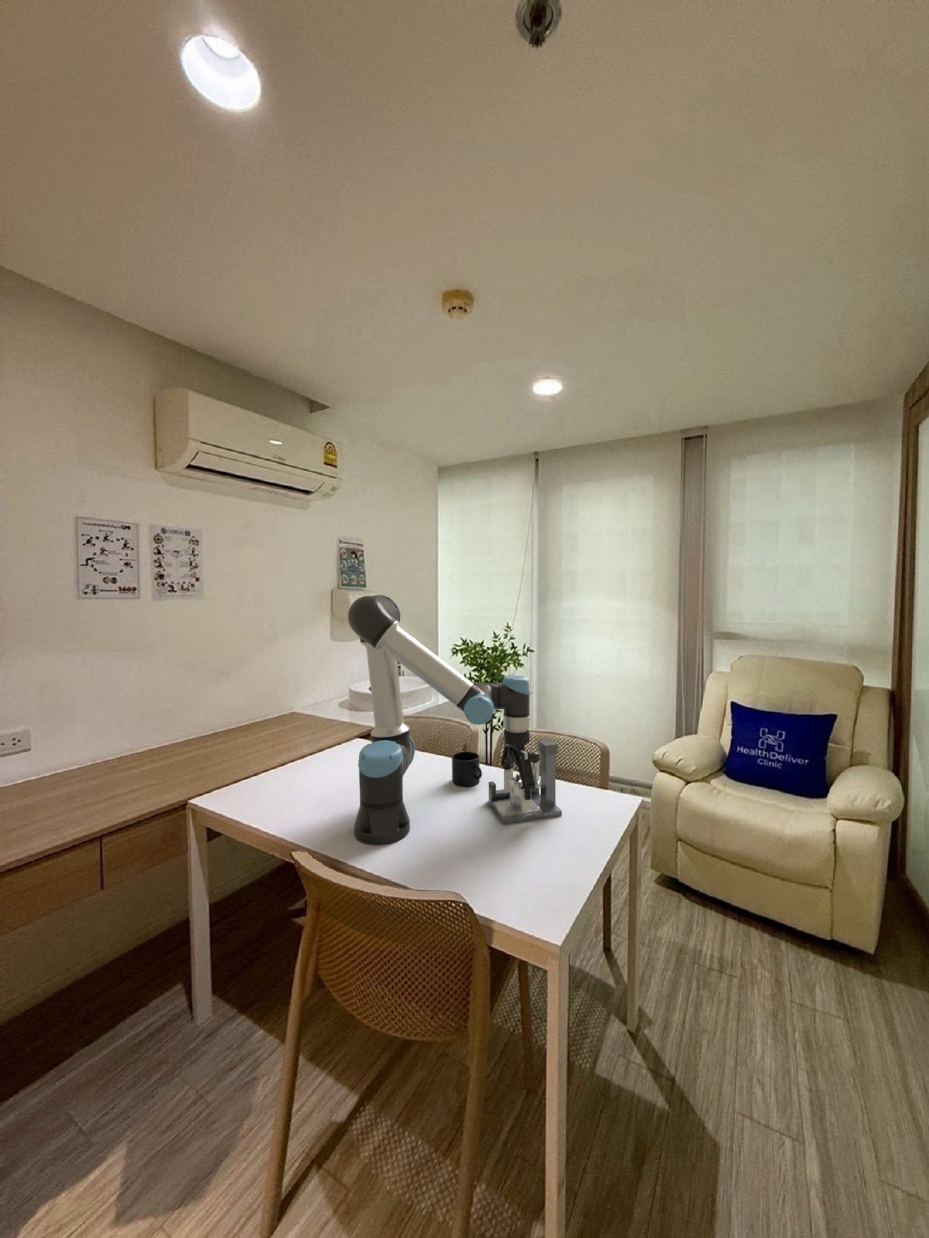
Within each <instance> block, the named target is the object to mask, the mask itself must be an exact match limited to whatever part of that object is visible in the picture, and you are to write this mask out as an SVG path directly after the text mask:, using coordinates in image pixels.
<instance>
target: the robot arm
mask: <svg viewBox="0 0 929 1238" xmlns="http://www.w3.org/2000/svg"><path fill="white" fill-rule="evenodd" d="M401 616H402V615H401V610H400V607H399V605H398V604H397V602H396V601H395V600H394V599H392V598H390V597H389V596H386V595H382V594H374V595H363V596H360V597H358V598H357V599H356V600H354V601H353V602H352V604H351V605H350V607H349V608H348V612H347V621H348V625H349V627H350V628H351V630H352V631H353V633H354V634H355V635H357V636H358V637H359V642H360V644H361V645H363V646H364V647H365V649H366V656H367V665H368V674H369V684H370V693H371V701H372V710H373V711H372V712H373V720H374V721H373V722H374V727H373V729H372V730H371V731H370V739H371V743H368V744H366V745H364V746H363V747H362V748H361V749H360V751H359V755H358V765H357V766H358V779H359V785H358V786H359V807H358V812H357V814H356V818H355V821H354V823H353V824H354V825H353V832H354V834H353V835H354V837H355V838H356V840H357V841H359V842H361V843H364V844H366V845H367V844H368V845H387V844H391V843H395V842H397V841H400V840H401V839H403V838H405V837H406V836H407V835H408V834H409V833H410V831H411V823H410V822H411V821H410V817H409V814H408V811H407V808H406V806H405V803H404V795H403V794H404V791H403V790H404V787H403V786H404V785H403V783H404V781H403V778H404V775H405V773H406V772H407V771H408V768H409V767H410V765H411V764H412V762H413V760H414V758H415V752H416V745H415V741H414V740H413V738H412V736H411V731H410V726H409V725H408V724H406V723H405V722H404V712H403V703H402V695H401V686H400V677H399V666H398V665H399V664H398V663H400V664H401V665H402V666H403V667H405V668H406V669H407V670H409V671H410V672H411V673H412V674H414V675H416V676H417V677H418V678H419V679H420V680H422V681H423V682H424V683H425V684H427V685H428V686H429V687H431V688H432V689H433V690H435V692H437V693H439V695H441V696H442V697H444V698H445V699H446V700H448V702H450V703H452V704H453V705H454V706H455V707H457V708H458V709H459V710H460V711H462V712H463V713H464V716H465V718H466V719H467V720H468V722H470V723H471V724H473V725H477V726H479V725H484V724H486V723H488V722H489V721H490V720H491V718H492V717H493V713H495V710H503V717H502V718H503V729H504V730H503V741H504V742H503V743H504V746H503V751H502V756H501V760H500V765H501V766H502V769H503V789H504V791H510V778H512V777H514V763H515V766H517V769H518V774H519V775H520V778H521V782H522V787H521V810H522V811H525V810H531V789H532V788H535V783H534V777H533V772H532V766H531V761H530V753H531V752H530V751H526V748H525V746H527V745H528V744H529V743H530V741H531V740H530V739H531V738H530V737H531V736H530V735H531V734H530V733H531V732H530V720H531V716H530V681H529V679H528V677H527V676H525V675H524V676H523V675H516V674H515V675H507V676H506V675H505V677H503V679H502V680H503V681H502V682H499V683H493V682H492V683H490V682H489V683H487V682H481V683H480V682H472V681H471V680H469V679H468V678H467V677H465V676H464V675H463V674H461V673H460V672H458V670H456V669H455V668H454V667H452V666H451V665H450V664H449V663H447V662H446V661H445V660H443V659H442V658H441V657H439V656H438V655H436V654H435V653H434V652H433V651H431V650H430V649H429V648H427V647H426V646H425V645H423V644H422V643H421V642H420V641H418V640H417V639H416V638H415V637H414V636H413V635H411V634H410V633H408V632H407V631H405V630H404V629H403V628H402V627H401V626H400V621H401Z"/></svg>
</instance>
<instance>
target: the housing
mask: <svg viewBox="0 0 929 1238" xmlns="http://www.w3.org/2000/svg"><path fill="white" fill-rule="evenodd" d="M521 787H522V782H521V778H520V774H519V773H518V774H515V776H513V777H512V778H510V808H511V809H513V810H521Z"/></svg>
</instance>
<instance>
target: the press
mask: <svg viewBox="0 0 929 1238" xmlns="http://www.w3.org/2000/svg"><path fill="white" fill-rule="evenodd" d="M558 748H559V744H558V743H557V742H555V741H553V740H552V739H550V738H548V739H541V740H538V741H537V750H538V752H540V754H539V755H540V761H539V781H540V783H541V787H540V788H532V789H531V810H525V811H522V810H513V809H511V808H510V791H504V788H503V789H497V785H496V782H495V781H494V780H493V781H488V802H489V808H490V809H491V810H492V812H494V814H495V815H496V816H497V818H498V819H499V821H501V823H502V825H504V826H505V825H511V824H517V823H522V822H523V823H524V822H529V821H535V820H541V819H542V820H543V819H548V818H554V817H555V818H556V817H560V816H562V815H563V810H562V809H561V808H560V807H558V805H556V800H557V799H556V798H557V797H556V794H557V793H556V755H558V754H559V753H558V752H559V749H558Z"/></svg>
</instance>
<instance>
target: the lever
mask: <svg viewBox="0 0 929 1238" xmlns="http://www.w3.org/2000/svg"><path fill="white" fill-rule="evenodd" d="M530 761H531V766H532V772H533V777H534V783H535V788H539V789H541V783H540V754H539V752H537V751H532V752H530Z"/></svg>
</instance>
